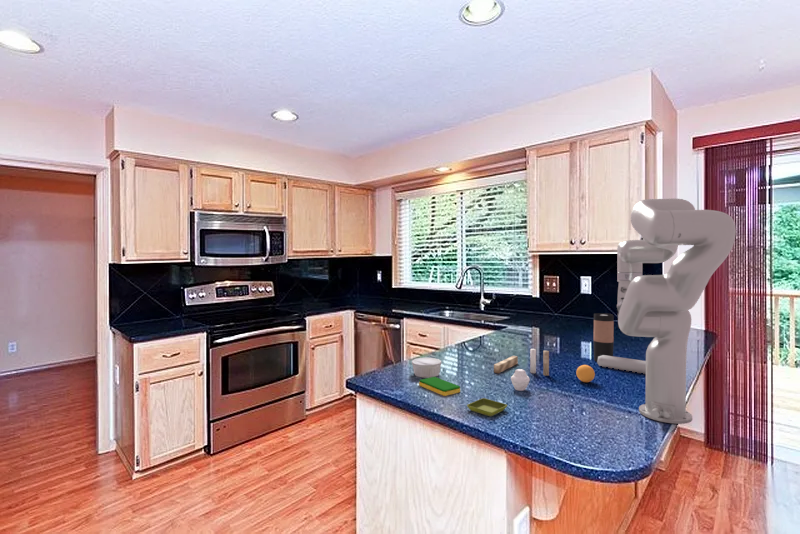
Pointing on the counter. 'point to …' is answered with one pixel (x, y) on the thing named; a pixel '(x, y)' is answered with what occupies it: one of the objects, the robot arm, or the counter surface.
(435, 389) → the dish sponge
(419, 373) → the ramekin
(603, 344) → the travel mug
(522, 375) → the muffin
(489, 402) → the olive square dish
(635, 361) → the tube
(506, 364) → the rail
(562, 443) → the counter surface
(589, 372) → the ball
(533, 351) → the white pin
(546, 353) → the birch pin
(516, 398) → the counter surface
